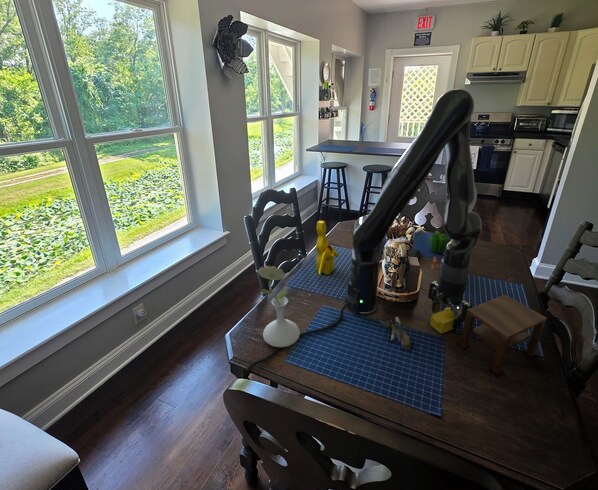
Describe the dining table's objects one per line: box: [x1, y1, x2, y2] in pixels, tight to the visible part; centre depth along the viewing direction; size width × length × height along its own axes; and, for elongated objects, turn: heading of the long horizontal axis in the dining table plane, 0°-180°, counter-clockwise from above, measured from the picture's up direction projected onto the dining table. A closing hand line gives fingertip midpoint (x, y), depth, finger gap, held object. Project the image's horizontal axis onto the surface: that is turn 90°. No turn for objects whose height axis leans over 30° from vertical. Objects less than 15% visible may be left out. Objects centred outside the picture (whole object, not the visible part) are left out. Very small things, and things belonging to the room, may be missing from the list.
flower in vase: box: [257, 265, 301, 349], centre depth 96 cm, size 13×11×25 cm
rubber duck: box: [429, 306, 455, 335], centre depth 102 cm, size 8×5×6 cm, turn 115°
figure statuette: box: [315, 220, 340, 275], centre depth 132 cm, size 18×8×22 cm, turn 148°
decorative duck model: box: [430, 255, 443, 271], centre depth 129 cm, size 15×8×15 cm
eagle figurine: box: [380, 316, 413, 350], centre depth 97 cm, size 8×7×9 cm
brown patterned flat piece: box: [380, 239, 422, 260], centre depth 147 cm, size 15×22×5 cm
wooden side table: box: [458, 294, 548, 375], centre depth 91 cm, size 16×12×13 cm
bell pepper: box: [429, 230, 451, 254], centre depth 147 cm, size 8×8×10 cm
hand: (445, 319), depth 102 cm, fingers open, 7 cm apart
